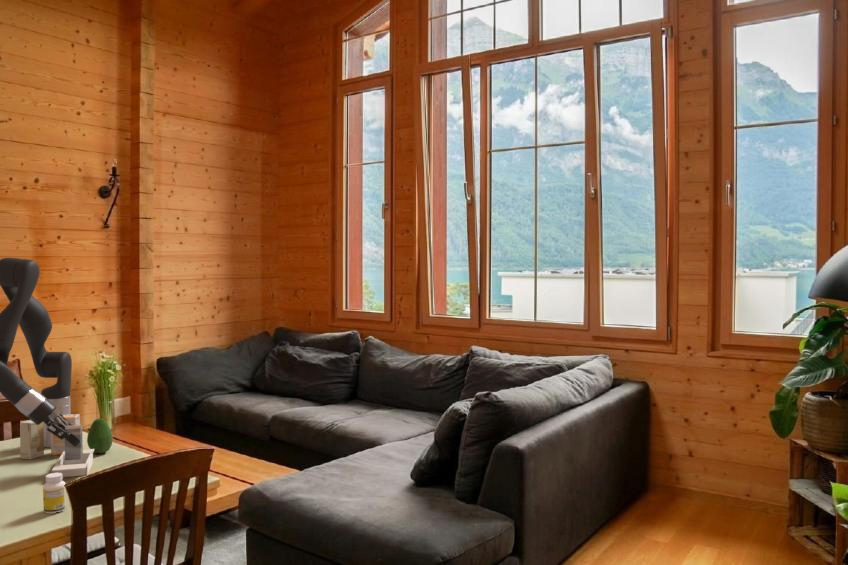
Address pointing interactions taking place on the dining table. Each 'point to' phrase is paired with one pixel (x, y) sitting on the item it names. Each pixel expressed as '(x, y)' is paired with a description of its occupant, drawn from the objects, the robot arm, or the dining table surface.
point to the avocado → (100, 436)
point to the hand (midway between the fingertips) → (78, 441)
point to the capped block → (71, 450)
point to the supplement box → (58, 443)
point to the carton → (74, 464)
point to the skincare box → (31, 440)
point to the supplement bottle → (54, 493)
